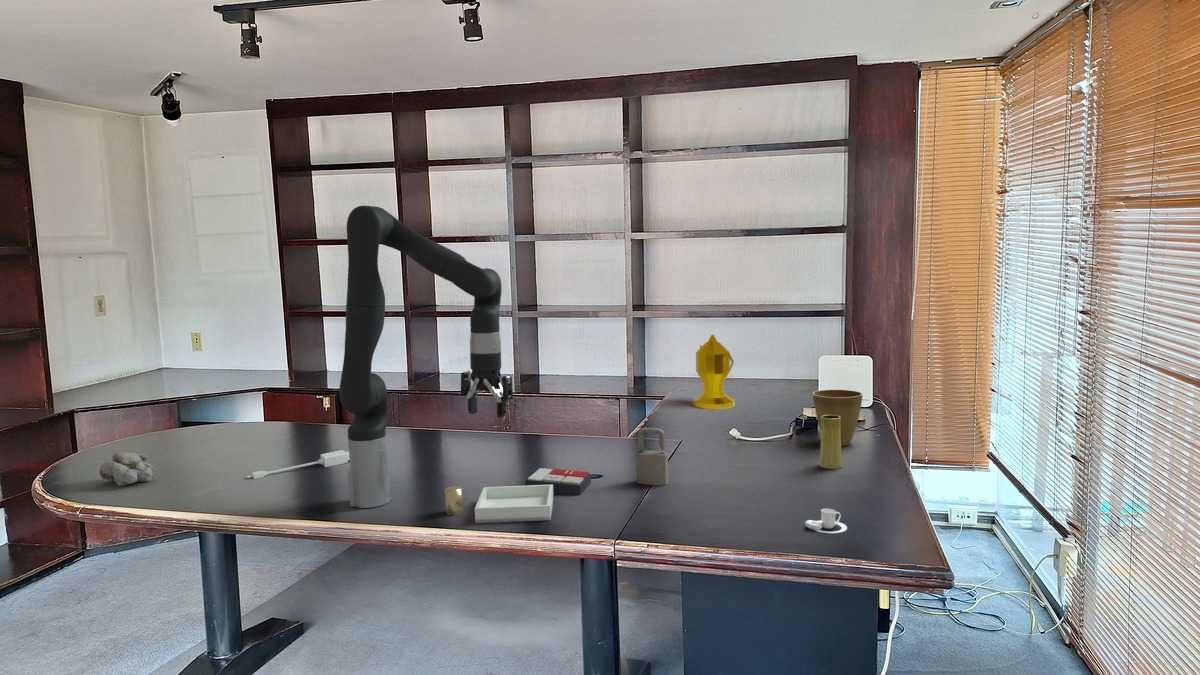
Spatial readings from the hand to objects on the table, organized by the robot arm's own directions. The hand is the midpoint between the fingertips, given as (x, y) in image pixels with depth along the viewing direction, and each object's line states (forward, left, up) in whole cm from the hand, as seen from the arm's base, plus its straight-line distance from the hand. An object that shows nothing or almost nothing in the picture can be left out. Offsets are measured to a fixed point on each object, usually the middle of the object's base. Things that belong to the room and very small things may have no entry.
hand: (487, 415), depth 192 cm
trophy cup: (+76, +114, -23) cm, 139 cm away
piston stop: (-8, -5, -23) cm, 25 cm away
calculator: (+17, +12, -23) cm, 31 cm away
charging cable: (-60, +41, -23) cm, 77 cm away
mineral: (-108, +32, -23) cm, 115 cm away
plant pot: (+103, +47, -23) cm, 115 cm away
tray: (+7, -5, -23) cm, 24 cm away
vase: (+93, +22, -23) cm, 98 cm away
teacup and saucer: (+76, -22, -24) cm, 82 cm away
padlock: (+42, +13, -23) cm, 49 cm away
